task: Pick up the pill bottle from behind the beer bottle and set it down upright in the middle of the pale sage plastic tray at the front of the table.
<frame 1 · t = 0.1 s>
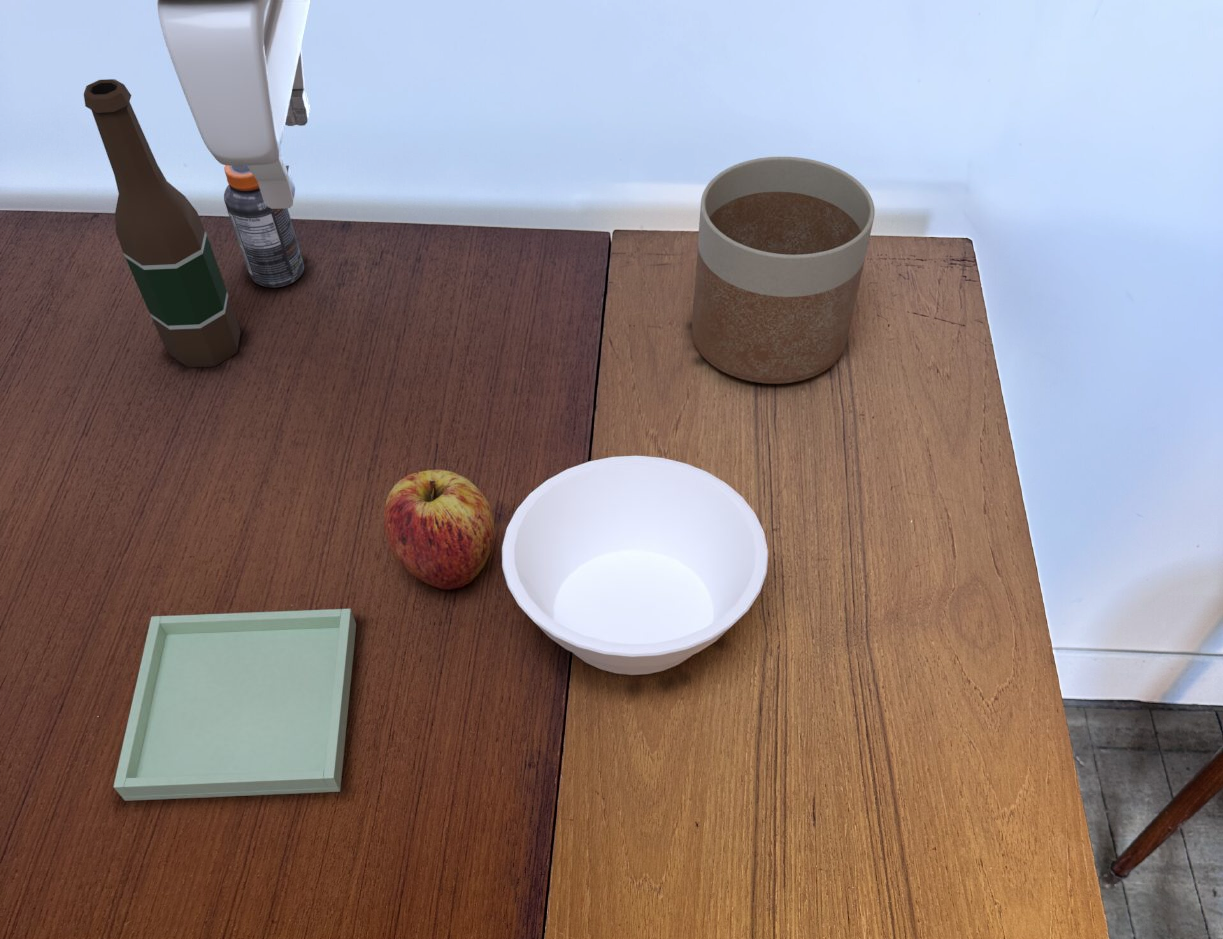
hand: (289, 159, 65), 31 cm above the table, tool pointing down, fingers open, 8 cm apart
planter: (767, 340, 105), on the table
apple: (449, 572, 90), on the table
beer bottle: (206, 347, 105), on the table
bowl: (633, 617, 87), on the table
tray: (246, 708, 82), on the table
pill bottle: (278, 274, 111), on the table
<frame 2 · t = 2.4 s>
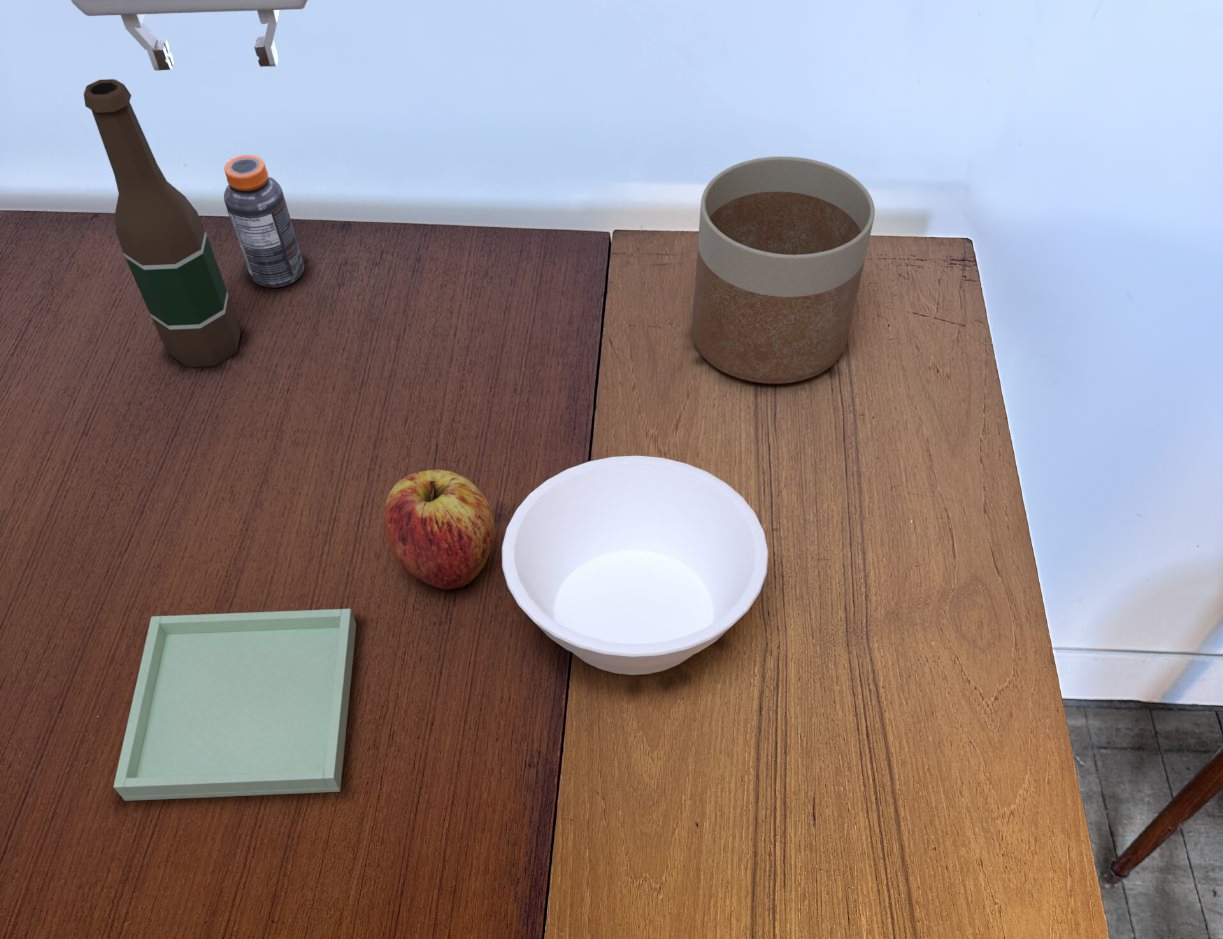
hand: (217, 65, 91), 21 cm above the table, tool pointing down, fingers open, 8 cm apart
nothing on the table moved.
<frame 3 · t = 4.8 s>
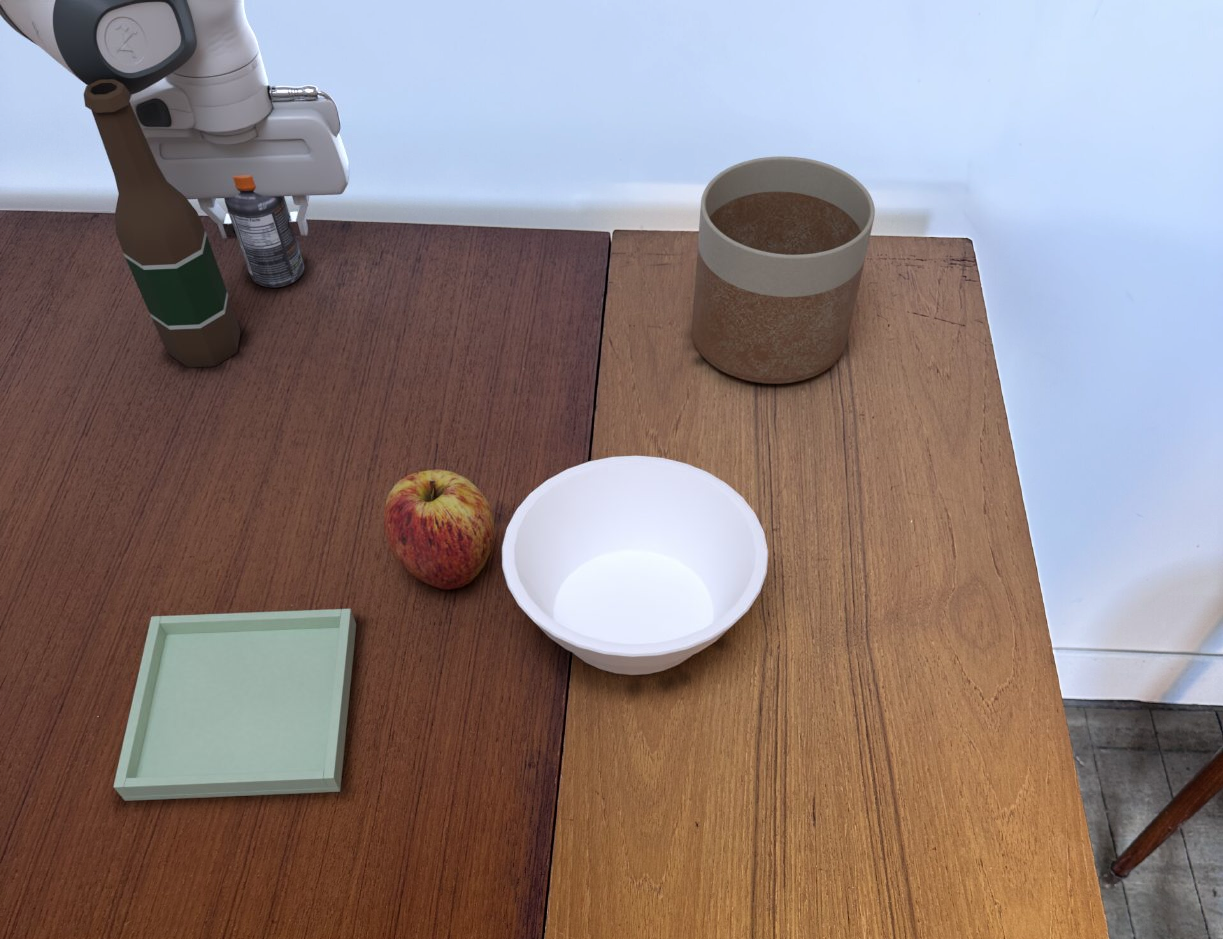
hand: (265, 234, 107), 4 cm above the table, tool pointing down, fingers closed on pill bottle, 6 cm apart
beer bottle: (206, 347, 105), on the table, touching arm
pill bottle: (278, 274, 111), on the table, touching gripper
everything else where it was.
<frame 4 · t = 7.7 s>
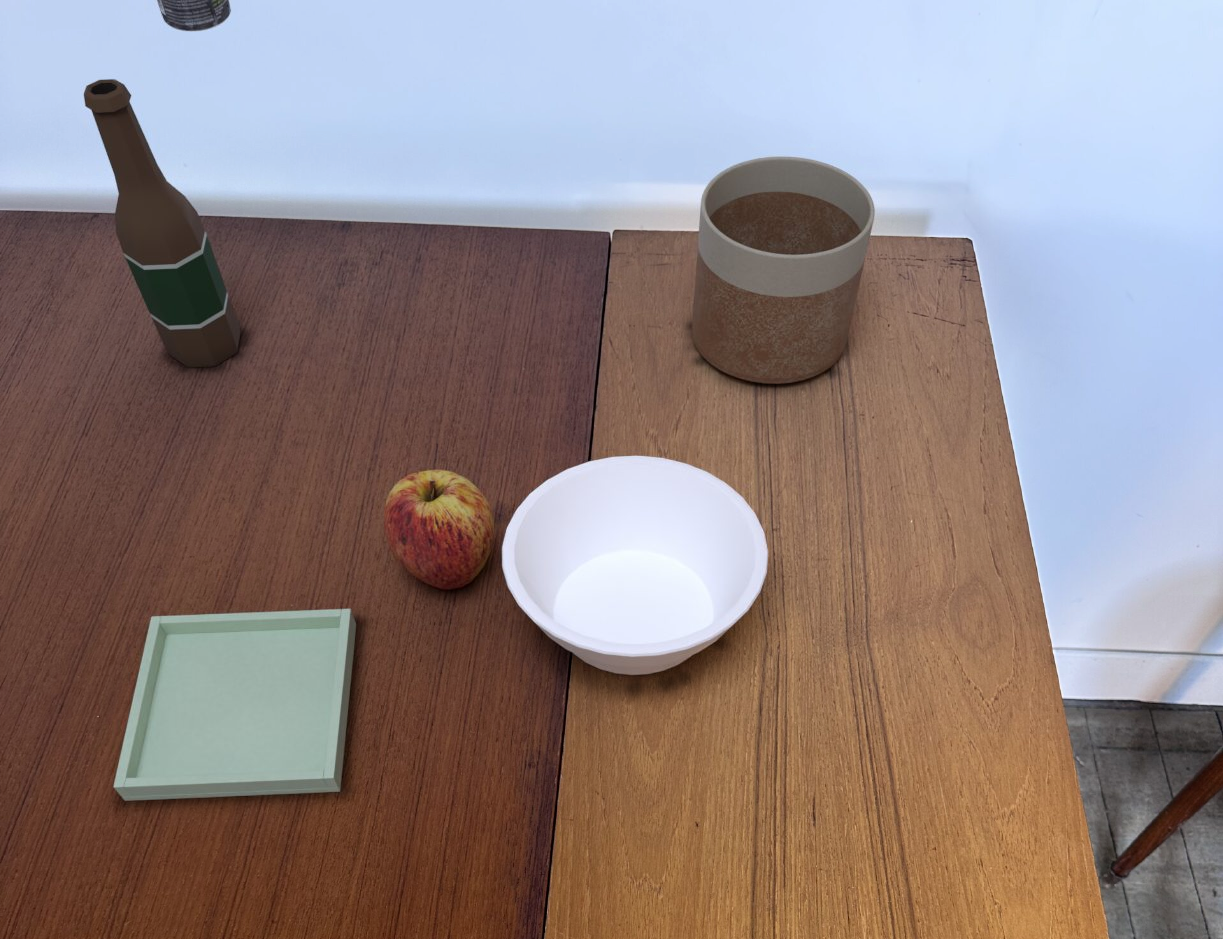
beer bottle: (206, 347, 105), on the table
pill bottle: (198, 19, 90), point 24 cm above the table, touching gripper
everything else where it was.
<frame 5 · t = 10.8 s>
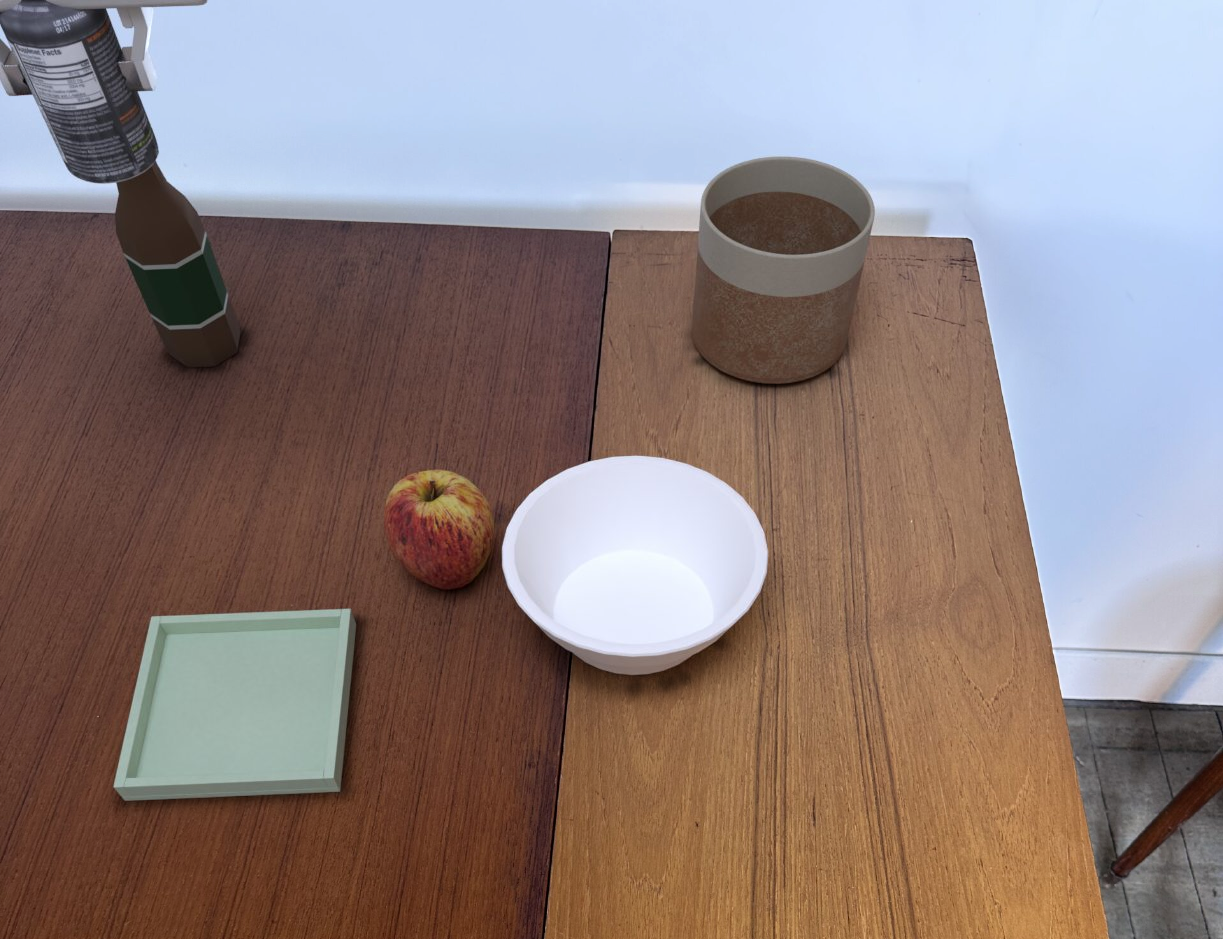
hand: (83, 88, 62), 35 cm above the table, tool pointing down, fingers closed on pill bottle, 6 cm apart
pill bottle: (115, 164, 66), point 31 cm above the table, touching gripper
everything else where it was.
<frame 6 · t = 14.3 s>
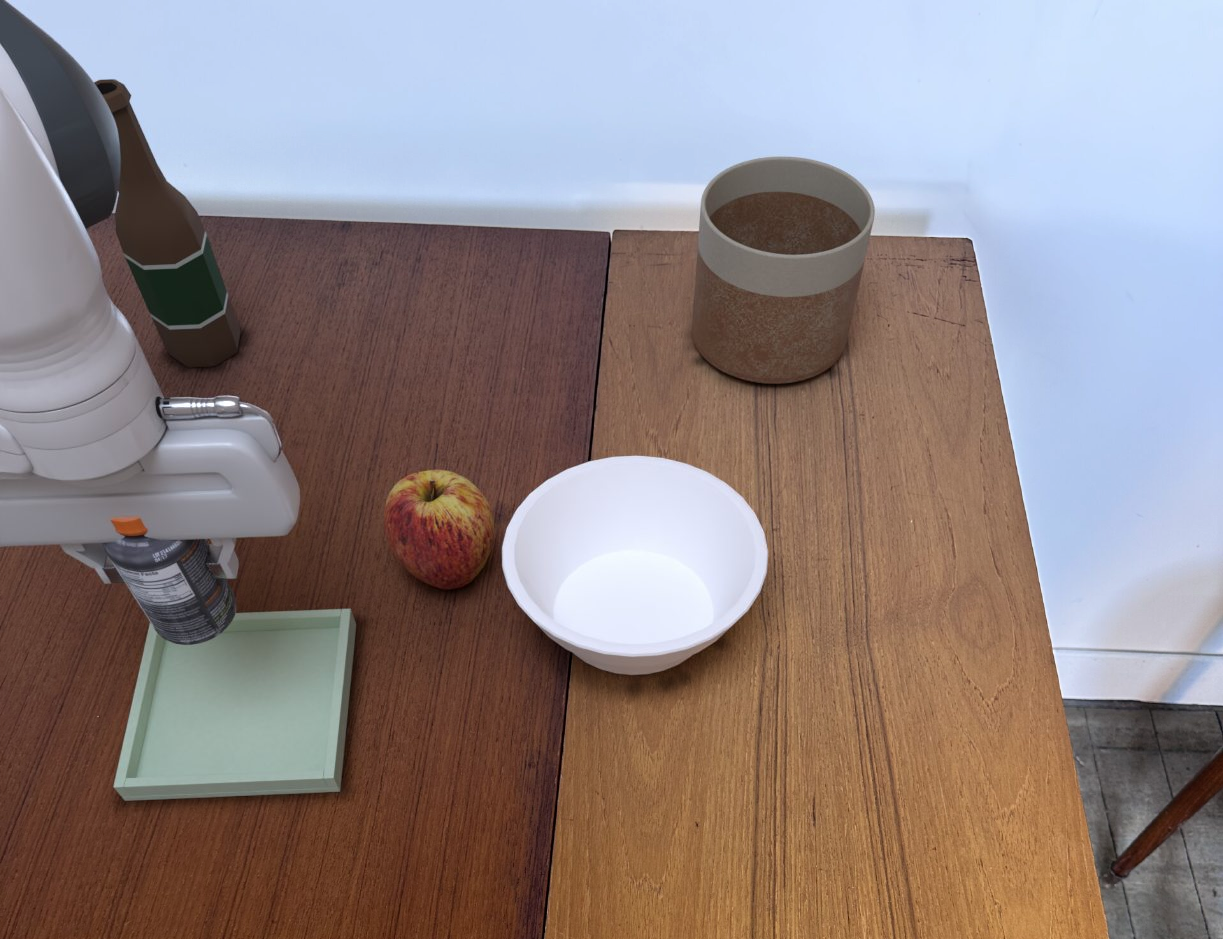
hand: (172, 574, 69), 16 cm above the table, tool pointing down, fingers closed on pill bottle, 6 cm apart
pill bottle: (197, 616, 73), point 11 cm above the table, touching gripper
everything else where it was.
when the fingers open (5 cm above the table, at t = 17.2 s): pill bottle stays where it is, resting on tray.
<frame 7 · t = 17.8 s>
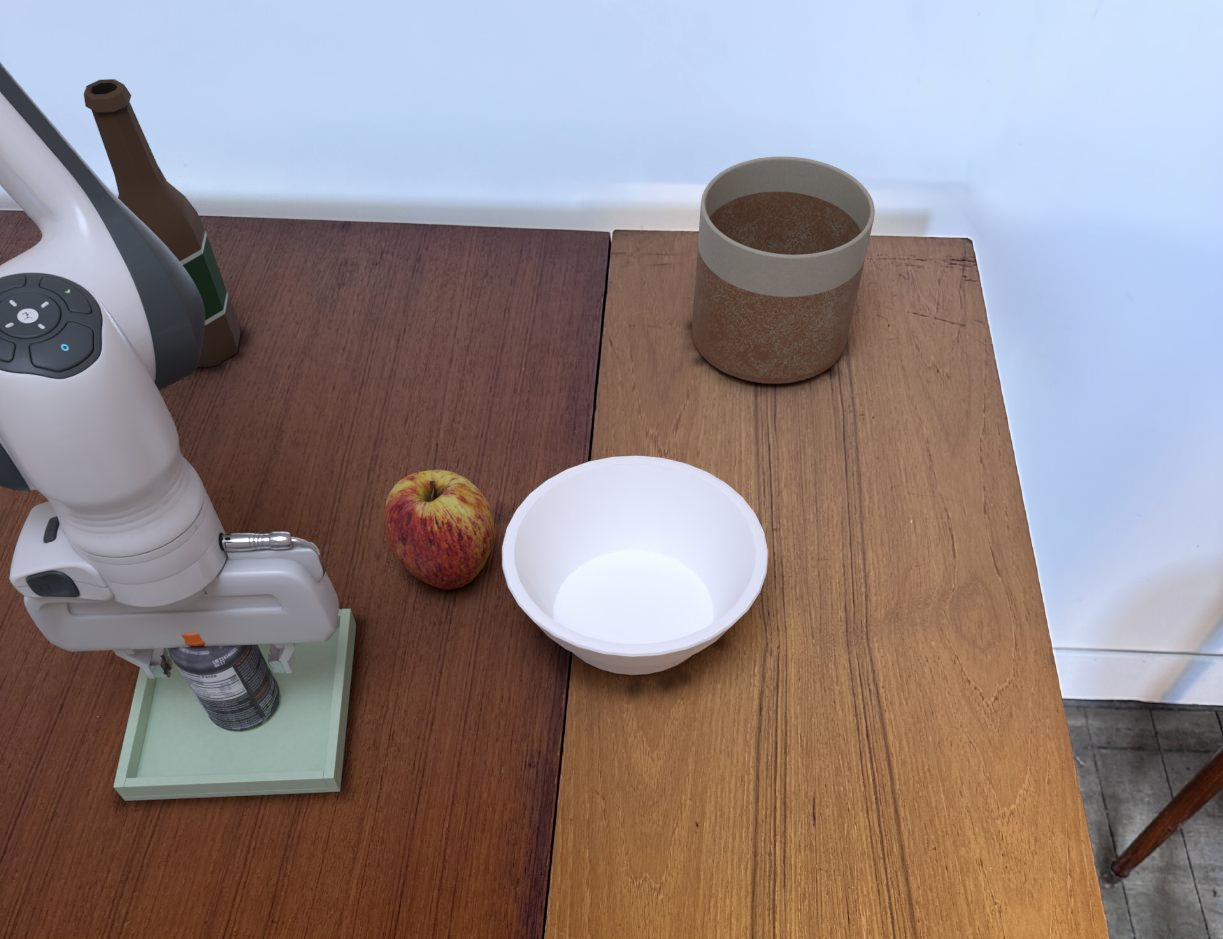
hand: (223, 669, 78), 5 cm above the table, tool pointing down, fingers open, 8 cm apart
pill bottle: (245, 704, 82), resting on tray
everything else where it was.
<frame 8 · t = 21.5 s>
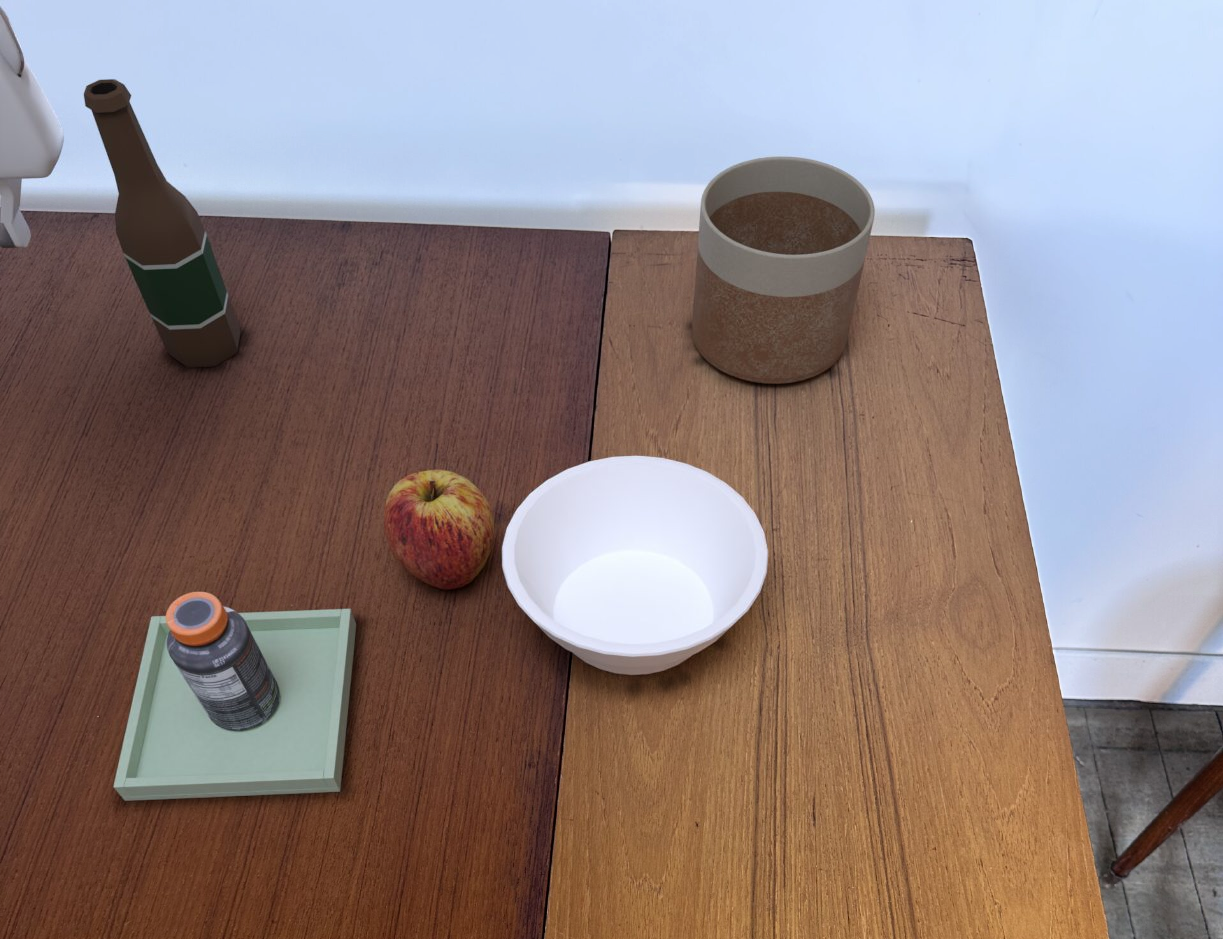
nothing on the table moved.
at the end: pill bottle inside the target area in the tray (0.1 cm from its centre), point 0.4 cm above the tray's base; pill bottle tilted 0°; the gripper is holding nothing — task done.
